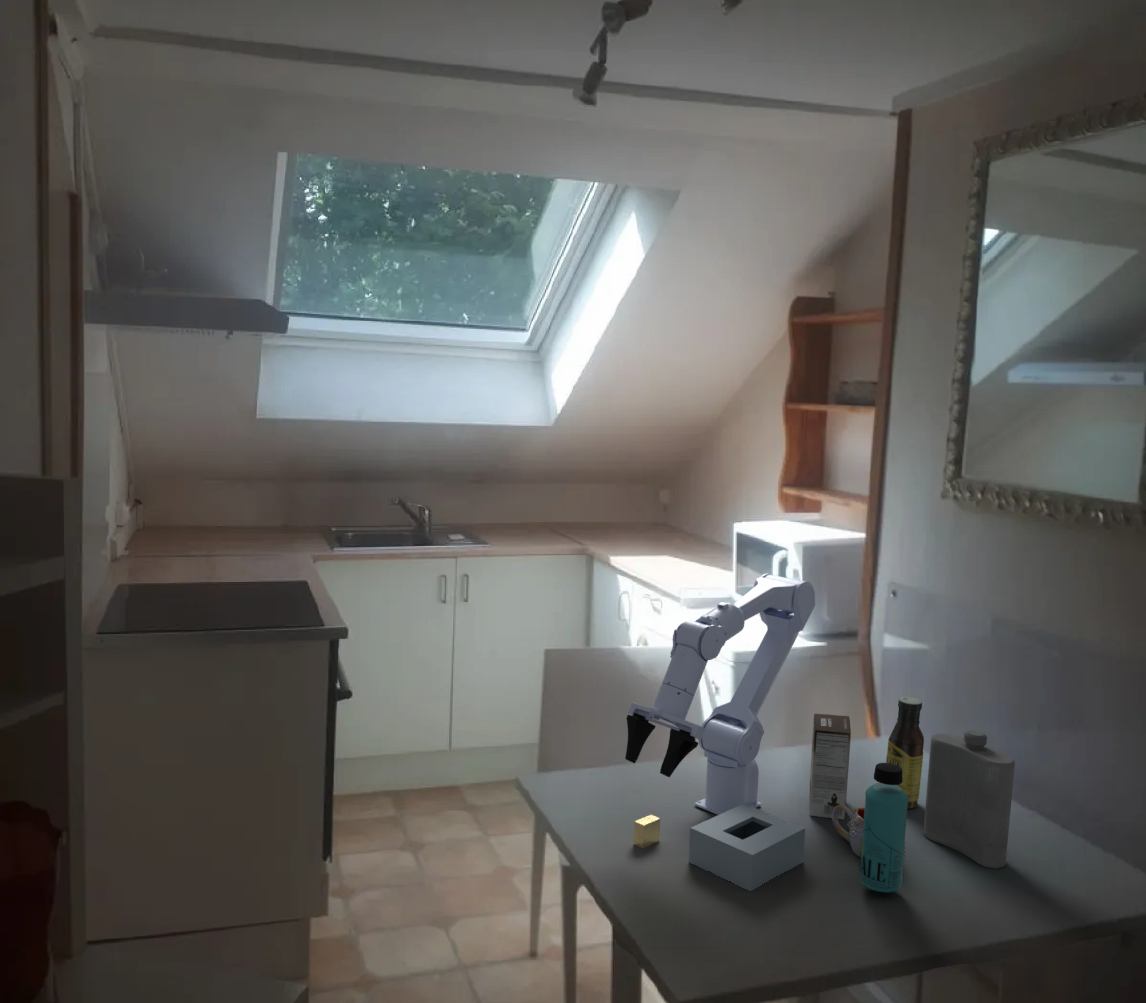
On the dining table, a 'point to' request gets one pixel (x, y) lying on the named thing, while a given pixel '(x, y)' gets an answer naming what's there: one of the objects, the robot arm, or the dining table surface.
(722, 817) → the grey block with hole
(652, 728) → the robot arm
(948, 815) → the flask
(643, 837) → the brass block
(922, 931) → the dining table surface
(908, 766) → the sauce bottle
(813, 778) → the coffee box
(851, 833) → the mug
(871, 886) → the beverage bottle
